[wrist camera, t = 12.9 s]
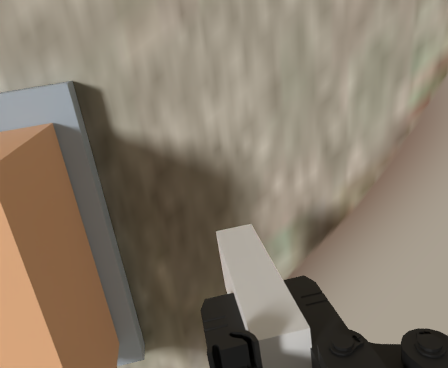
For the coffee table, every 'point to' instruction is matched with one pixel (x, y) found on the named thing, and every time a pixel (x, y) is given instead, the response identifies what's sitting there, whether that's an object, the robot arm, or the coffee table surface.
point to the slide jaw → (47, 263)
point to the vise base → (81, 197)
